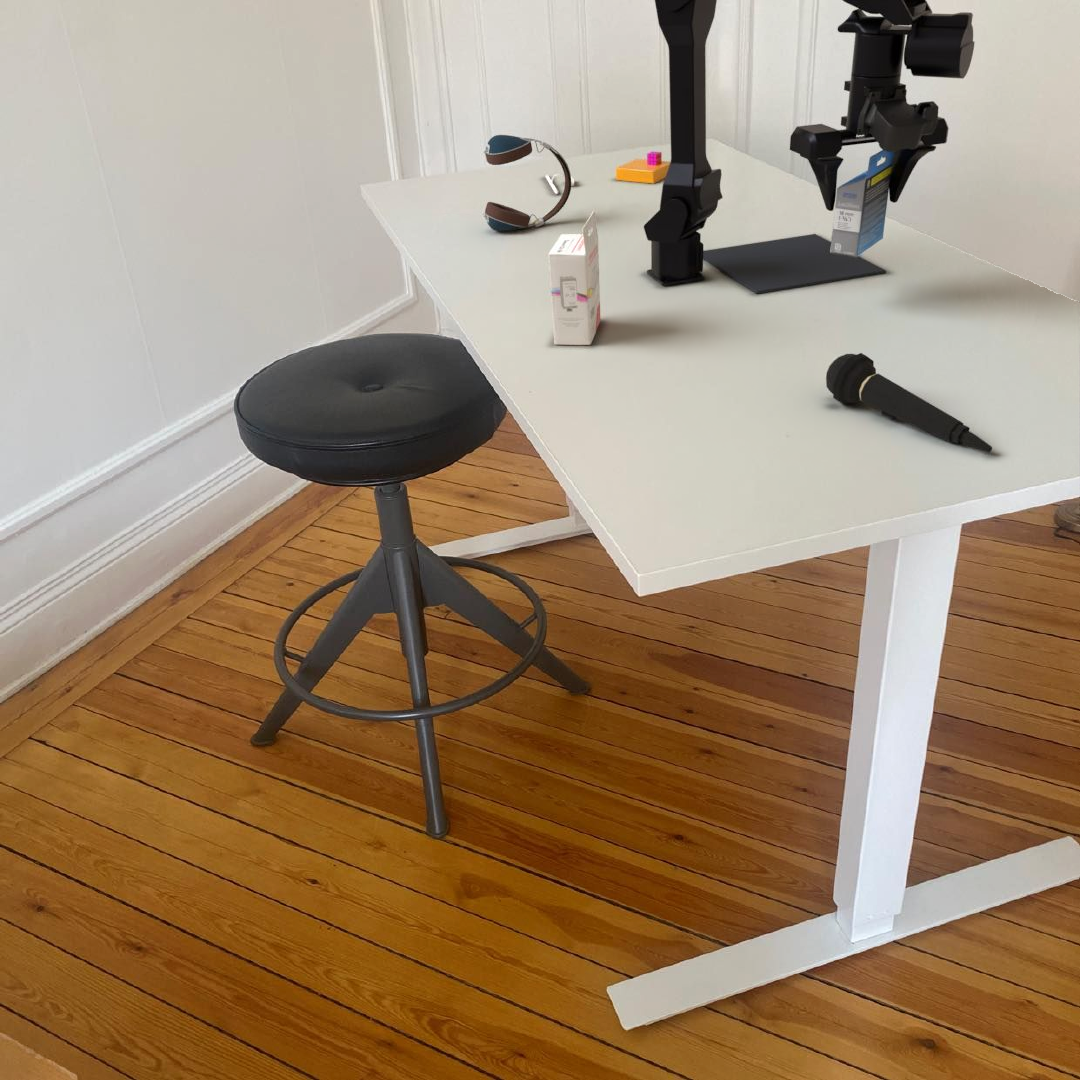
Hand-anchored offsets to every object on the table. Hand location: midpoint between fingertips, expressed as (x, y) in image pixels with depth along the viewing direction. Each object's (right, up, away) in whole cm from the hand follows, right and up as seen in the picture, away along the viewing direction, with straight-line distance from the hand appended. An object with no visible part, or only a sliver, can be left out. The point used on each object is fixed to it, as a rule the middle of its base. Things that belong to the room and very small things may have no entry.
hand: (861, 206), depth 140 cm
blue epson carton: (0, -5, +3) cm, 5 cm away
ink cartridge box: (-36, -16, +2) cm, 39 cm away
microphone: (-3, -30, -25) cm, 39 cm away
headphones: (-46, +9, +45) cm, 65 cm away
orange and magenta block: (-21, +26, +70) cm, 78 cm away
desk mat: (-4, -2, +22) cm, 22 cm away
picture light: (-37, +24, +68) cm, 81 cm away
